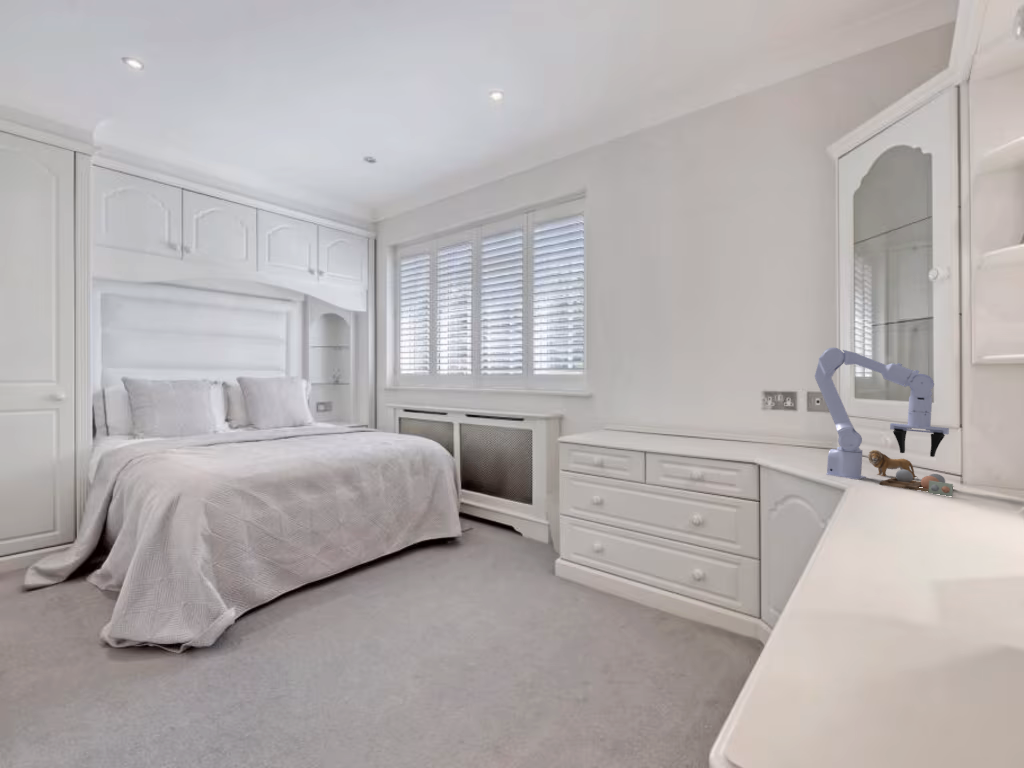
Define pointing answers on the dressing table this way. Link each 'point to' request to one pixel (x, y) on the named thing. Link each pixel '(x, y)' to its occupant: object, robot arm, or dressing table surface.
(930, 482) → the card
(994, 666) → the dressing table surface
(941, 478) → the grey ball right
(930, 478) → the terracotta ball
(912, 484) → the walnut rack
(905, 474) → the grey ball left
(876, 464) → the lion figurine
